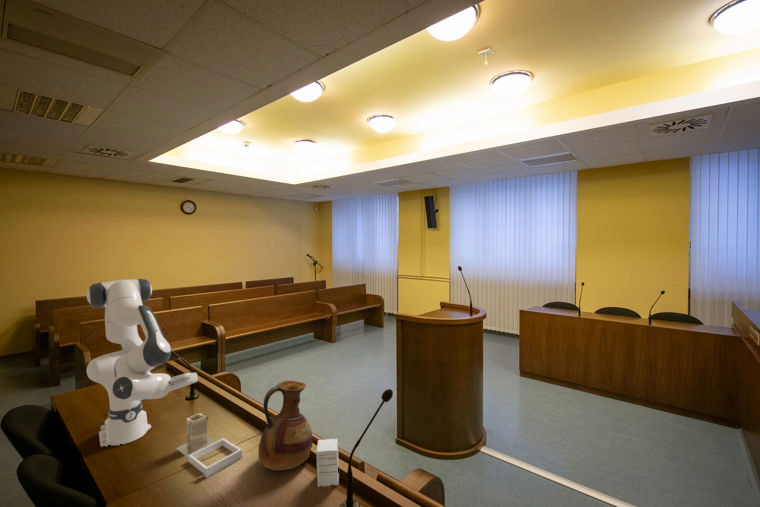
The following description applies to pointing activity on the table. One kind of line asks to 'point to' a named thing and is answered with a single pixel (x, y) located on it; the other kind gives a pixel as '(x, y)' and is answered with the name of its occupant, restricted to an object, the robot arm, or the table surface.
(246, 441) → the table surface
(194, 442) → the sleeve
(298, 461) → the ceramic pitcher
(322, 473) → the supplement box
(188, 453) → the base plate with pin
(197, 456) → the rectangular frame
